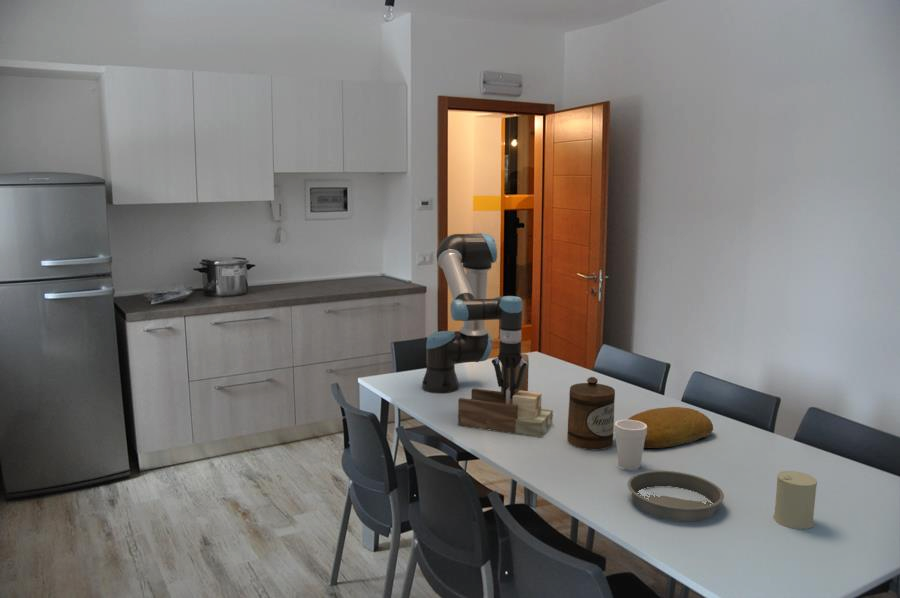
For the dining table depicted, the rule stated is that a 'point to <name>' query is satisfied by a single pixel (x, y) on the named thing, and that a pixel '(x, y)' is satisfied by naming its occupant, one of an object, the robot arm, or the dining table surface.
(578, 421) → the wooden container
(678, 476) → the cake pan
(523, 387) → the wooden block
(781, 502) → the can
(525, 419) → the chute
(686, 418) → the bread
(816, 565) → the dining table surface
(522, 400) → the birch block
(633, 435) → the foam cup
